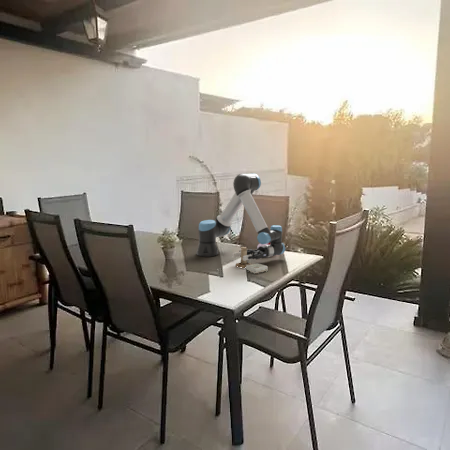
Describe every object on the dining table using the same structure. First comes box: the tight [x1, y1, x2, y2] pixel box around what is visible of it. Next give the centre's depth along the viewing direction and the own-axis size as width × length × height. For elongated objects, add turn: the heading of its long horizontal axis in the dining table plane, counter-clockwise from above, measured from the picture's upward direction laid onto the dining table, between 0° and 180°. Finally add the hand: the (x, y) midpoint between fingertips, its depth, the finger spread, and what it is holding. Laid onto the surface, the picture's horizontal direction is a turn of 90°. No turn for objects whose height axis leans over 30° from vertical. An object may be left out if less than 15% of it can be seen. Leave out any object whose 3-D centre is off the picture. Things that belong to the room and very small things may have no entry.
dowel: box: [240, 246, 248, 265], centre depth 239 cm, size 4×4×12 cm
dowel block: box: [235, 262, 252, 269], centre depth 240 cm, size 7×7×2 cm
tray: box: [245, 262, 269, 272], centre depth 231 cm, size 9×9×3 cm
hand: (238, 256), depth 236 cm, fingers open, 9 cm apart
